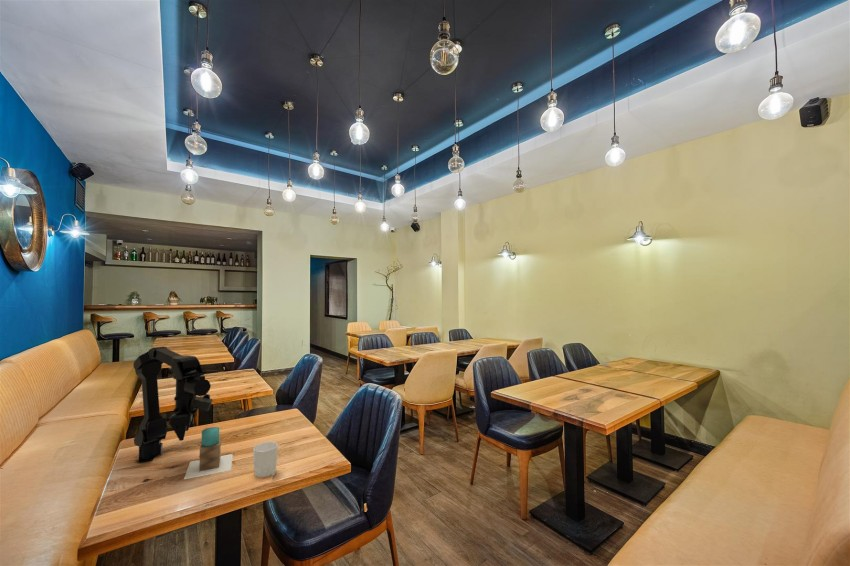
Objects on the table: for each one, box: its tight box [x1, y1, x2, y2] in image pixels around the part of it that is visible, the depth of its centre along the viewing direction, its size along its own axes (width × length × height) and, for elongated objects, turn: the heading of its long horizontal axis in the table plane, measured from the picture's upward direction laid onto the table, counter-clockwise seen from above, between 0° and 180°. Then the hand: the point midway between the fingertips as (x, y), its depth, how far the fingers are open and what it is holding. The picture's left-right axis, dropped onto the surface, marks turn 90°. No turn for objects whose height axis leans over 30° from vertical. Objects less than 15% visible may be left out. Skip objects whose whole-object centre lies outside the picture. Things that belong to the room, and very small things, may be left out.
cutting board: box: [183, 453, 234, 481], centre depth 127 cm, size 14×14×1 cm
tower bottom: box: [199, 450, 221, 471], centre depth 127 cm, size 6×6×4 cm
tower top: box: [199, 438, 222, 460], centre depth 127 cm, size 6×6×4 cm
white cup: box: [252, 441, 279, 478], centre depth 122 cm, size 8×8×10 cm
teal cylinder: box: [201, 426, 220, 447], centre depth 127 cm, size 6×6×5 cm
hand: (184, 435), depth 125 cm, fingers open, 9 cm apart
